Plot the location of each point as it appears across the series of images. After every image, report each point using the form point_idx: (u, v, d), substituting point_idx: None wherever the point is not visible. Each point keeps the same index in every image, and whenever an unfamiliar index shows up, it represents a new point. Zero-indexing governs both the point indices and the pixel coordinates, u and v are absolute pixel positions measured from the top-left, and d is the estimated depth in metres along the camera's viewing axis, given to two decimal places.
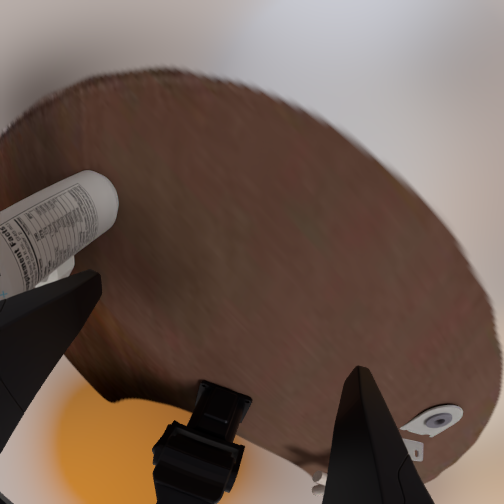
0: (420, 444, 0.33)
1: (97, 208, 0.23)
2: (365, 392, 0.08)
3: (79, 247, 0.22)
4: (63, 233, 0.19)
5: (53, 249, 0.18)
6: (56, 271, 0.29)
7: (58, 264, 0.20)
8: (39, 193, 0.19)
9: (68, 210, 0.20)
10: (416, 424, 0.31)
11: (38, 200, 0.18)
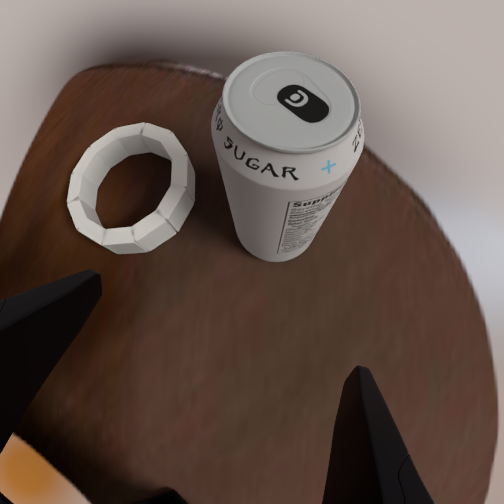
0: None
1: None
2: (365, 392, 0.08)
3: (289, 243, 0.18)
4: (326, 214, 0.16)
5: (324, 213, 0.15)
6: (144, 233, 0.21)
7: (290, 231, 0.15)
8: None
9: None
10: None
11: None
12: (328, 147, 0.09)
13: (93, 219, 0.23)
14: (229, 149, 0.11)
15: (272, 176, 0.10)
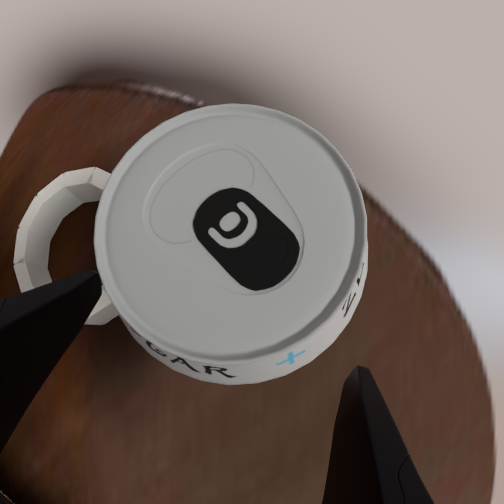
0: None
1: None
2: (365, 392, 0.08)
3: None
4: None
5: None
6: (91, 313, 0.17)
7: None
8: None
9: None
10: None
11: None
12: (287, 350, 0.05)
13: (42, 284, 0.19)
14: None
15: (189, 369, 0.06)
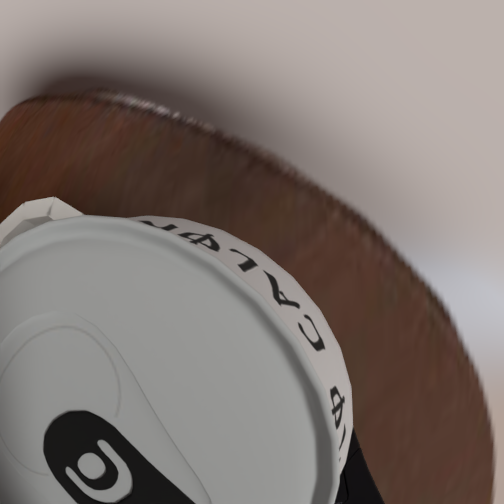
0: None
1: None
2: None
3: None
4: None
5: None
6: None
7: None
8: None
9: None
10: None
11: None
12: None
13: None
14: None
15: None
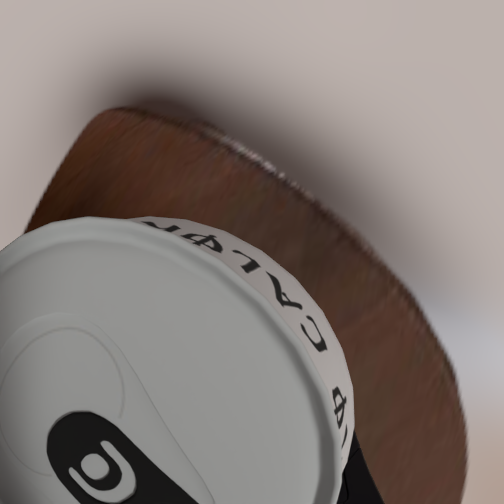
0: None
1: None
2: None
3: None
4: None
5: None
6: None
7: None
8: None
9: None
10: None
11: None
12: None
13: None
14: None
15: None
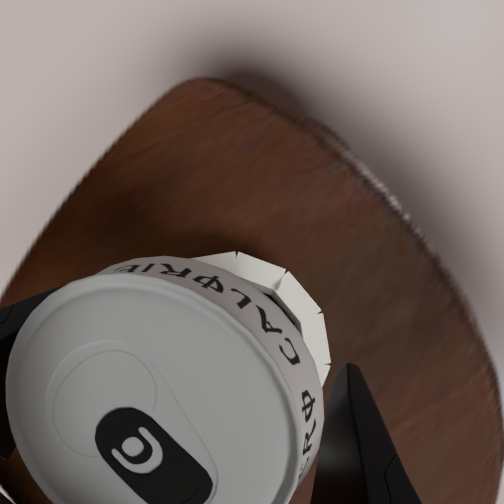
0: None
1: None
2: (353, 389, 0.08)
3: None
4: None
5: None
6: None
7: None
8: None
9: None
10: None
11: None
12: None
13: None
14: None
15: None
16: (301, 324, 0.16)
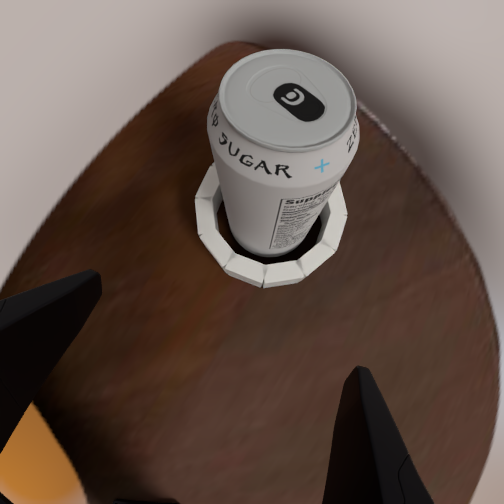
0: None
1: (308, 230, 0.21)
2: (365, 392, 0.08)
3: (281, 239, 0.18)
4: (319, 212, 0.16)
5: (317, 211, 0.15)
6: (276, 279, 0.20)
7: (282, 227, 0.16)
8: None
9: None
10: None
11: None
12: (322, 147, 0.09)
13: (217, 228, 0.23)
14: (224, 145, 0.11)
15: (265, 173, 0.10)
16: None
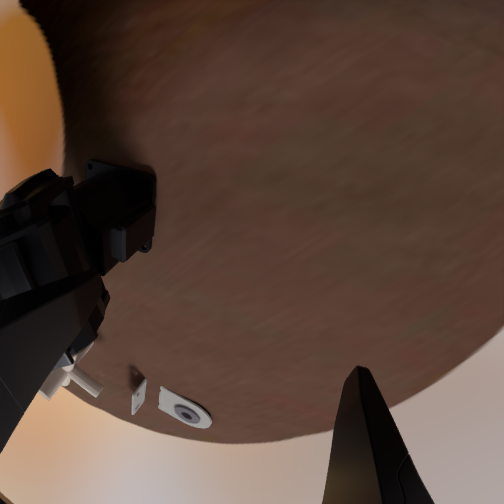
0: (143, 400, 0.38)
1: None
2: (365, 392, 0.08)
3: None
4: None
5: None
6: None
7: None
8: None
9: None
10: (174, 398, 0.35)
11: None
12: None
13: None
14: None
15: None
16: None
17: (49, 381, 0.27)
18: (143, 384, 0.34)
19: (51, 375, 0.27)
